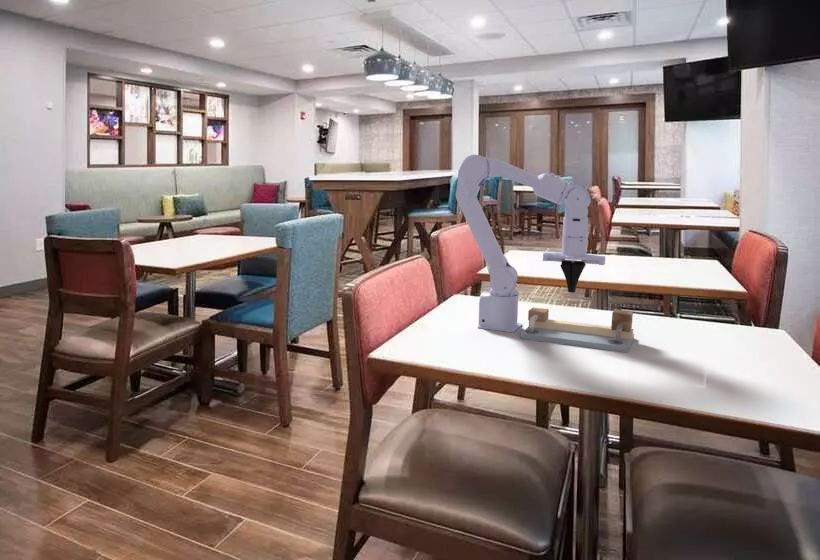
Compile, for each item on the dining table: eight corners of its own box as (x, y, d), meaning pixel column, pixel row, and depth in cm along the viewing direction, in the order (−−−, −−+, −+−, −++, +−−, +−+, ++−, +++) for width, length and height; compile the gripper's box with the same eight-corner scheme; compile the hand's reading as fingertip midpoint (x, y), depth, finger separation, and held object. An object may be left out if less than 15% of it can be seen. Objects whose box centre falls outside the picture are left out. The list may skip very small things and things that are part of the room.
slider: (608, 340, 129) (609, 316, 128) (613, 332, 136) (614, 309, 135) (627, 343, 127) (628, 318, 126) (631, 334, 134) (632, 311, 133)
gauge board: (520, 338, 136) (521, 316, 135) (534, 326, 146) (534, 305, 145) (627, 352, 125) (629, 328, 124) (633, 338, 136) (635, 316, 135)
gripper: (540, 236, 138) (538, 291, 140) (603, 239, 131) (599, 297, 134) (547, 234, 144) (545, 286, 146) (608, 236, 137) (604, 292, 140)
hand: (571, 291), depth 140 cm, fingers closed
